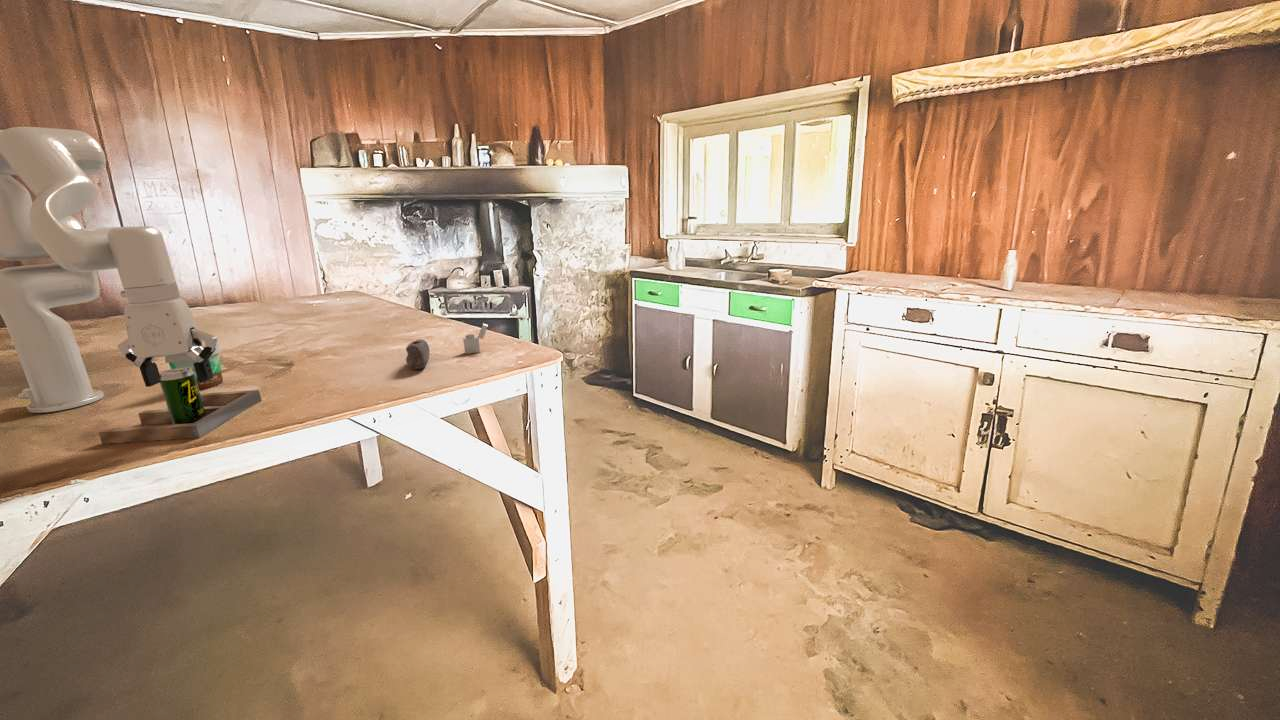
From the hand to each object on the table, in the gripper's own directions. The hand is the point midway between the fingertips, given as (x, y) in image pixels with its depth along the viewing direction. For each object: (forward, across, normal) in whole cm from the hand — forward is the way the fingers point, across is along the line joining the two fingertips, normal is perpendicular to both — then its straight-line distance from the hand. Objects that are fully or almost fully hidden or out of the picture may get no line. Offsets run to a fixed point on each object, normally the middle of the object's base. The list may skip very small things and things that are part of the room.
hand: (180, 382), depth 107 cm
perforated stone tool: (+10, +33, +37) cm, 51 cm away
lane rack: (+10, -5, +5) cm, 12 cm away
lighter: (+10, +46, +47) cm, 67 cm away
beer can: (+10, -1, 0) cm, 10 cm away
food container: (+9, -16, +29) cm, 34 cm away
